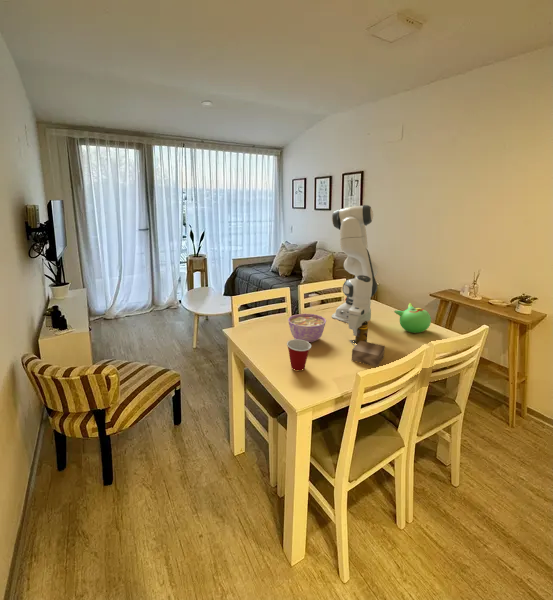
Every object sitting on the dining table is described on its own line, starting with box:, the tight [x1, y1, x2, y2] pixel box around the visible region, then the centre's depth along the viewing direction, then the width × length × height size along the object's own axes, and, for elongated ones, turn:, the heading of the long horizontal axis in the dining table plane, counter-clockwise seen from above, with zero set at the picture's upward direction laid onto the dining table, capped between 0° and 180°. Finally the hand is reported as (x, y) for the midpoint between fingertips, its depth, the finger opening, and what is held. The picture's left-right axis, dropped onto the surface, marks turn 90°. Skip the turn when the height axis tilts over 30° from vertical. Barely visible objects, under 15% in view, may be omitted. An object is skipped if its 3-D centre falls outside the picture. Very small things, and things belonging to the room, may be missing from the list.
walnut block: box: [351, 341, 386, 368], centre depth 158 cm, size 12×12×6 cm
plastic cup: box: [286, 338, 312, 370], centre depth 148 cm, size 11×11×12 cm
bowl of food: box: [287, 313, 327, 343], centre depth 178 cm, size 20×20×12 cm
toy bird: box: [393, 302, 432, 334], centre depth 190 cm, size 18×17×15 cm
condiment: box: [348, 321, 369, 347], centre depth 175 cm, size 7×8×12 cm
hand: (359, 332), depth 175 cm, fingers open, 8 cm apart
